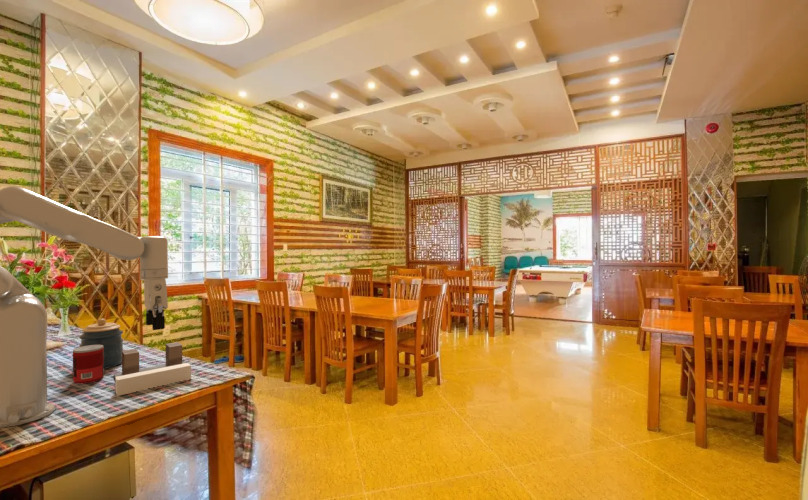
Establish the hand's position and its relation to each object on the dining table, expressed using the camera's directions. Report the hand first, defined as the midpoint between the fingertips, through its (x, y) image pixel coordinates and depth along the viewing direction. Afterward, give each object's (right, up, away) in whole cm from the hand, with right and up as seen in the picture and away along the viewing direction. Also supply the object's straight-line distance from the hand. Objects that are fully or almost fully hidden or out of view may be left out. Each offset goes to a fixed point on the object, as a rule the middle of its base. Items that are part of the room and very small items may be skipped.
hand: (155, 326), depth 121 cm
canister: (-34, -19, +20) cm, 44 cm away
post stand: (-9, -19, +11) cm, 24 cm away
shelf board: (0, -19, 0) cm, 19 cm away
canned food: (-26, -19, +5) cm, 32 cm away
